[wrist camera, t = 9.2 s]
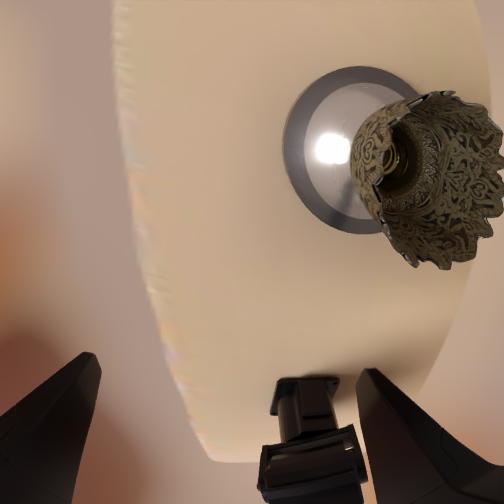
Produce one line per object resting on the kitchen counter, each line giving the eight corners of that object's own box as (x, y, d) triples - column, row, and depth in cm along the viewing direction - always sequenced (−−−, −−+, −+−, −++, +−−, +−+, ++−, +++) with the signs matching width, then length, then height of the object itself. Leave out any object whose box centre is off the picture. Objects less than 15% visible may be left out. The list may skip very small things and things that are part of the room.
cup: (433, 118, 14) (523, 134, 7) (408, 219, 18) (480, 278, 10) (332, 81, 14) (402, 58, 6) (309, 199, 17) (356, 262, 10)
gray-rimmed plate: (413, 233, 19) (421, 240, 18) (273, 221, 19) (275, 228, 18) (437, 94, 15) (448, 94, 13) (290, 54, 14) (293, 49, 13)
